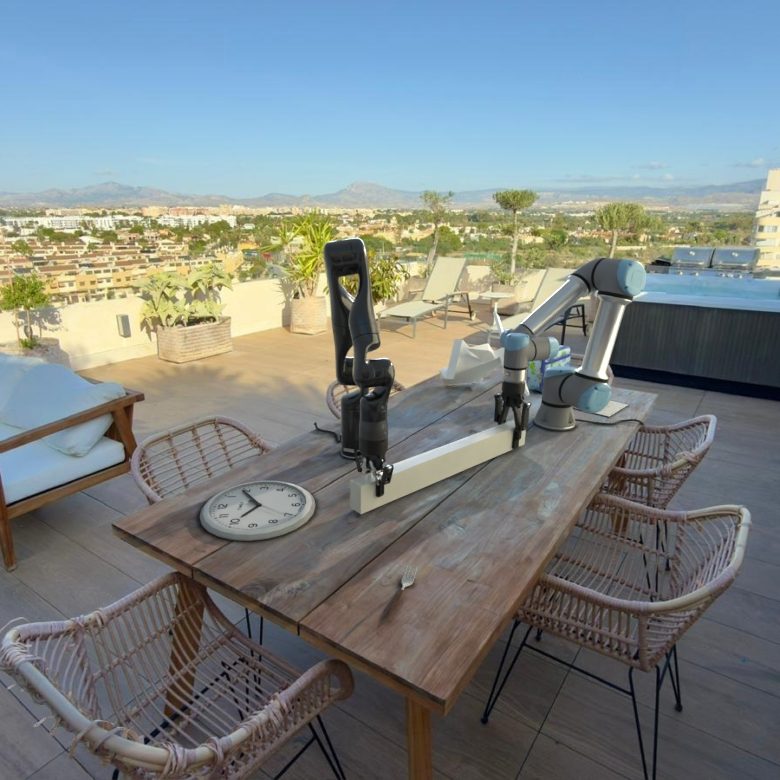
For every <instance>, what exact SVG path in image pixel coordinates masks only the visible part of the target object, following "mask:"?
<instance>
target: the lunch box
mask: <svg viewBox="0 0 780 780" xmlns="http://www.w3.org/2000/svg"><path fill="white" fill-rule="evenodd" d="M571 350H572V349H571V347H570V346H569V345H561V344H559V352H558V354H557V356H556V357H555V358H552V359H548V360H539V361H530V362H527V371H526V384H527V387H528V390H531V391H537V392H540V393H541V394H542V390H543V380H544V375H545V370H546V369H547V368H549V367H555V366H567V367H571V356H572V351H571Z"/></svg>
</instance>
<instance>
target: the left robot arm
mask: <svg viewBox="0 0 780 780" xmlns="http://www.w3.org/2000/svg"><path fill="white" fill-rule="evenodd" d="M322 249H323V250H322V257H323V265H324V271H325V276H326V281H327V282H326V283H327V289H328V295H329V306H330V308H329V309H330V321H331V329H332V336H333V337H332V338H333V342H334V343H333V344H334V360H335V361H334V364H335V367H334V368H335V378H336V382H337V383H338V384H339V385H341V386H345V387H358V388H357V389H356V390H354V391H351V392H348V393H345V394H343V395H342V396H341V398H340V432H339V434H338V433H337V432H335V431H333V430H327V429H322V428H319V427H318V423H317V422H316V421H315V422H314V423H313V425H314V427H315V429H316V430H317V431H319V432H321V433H327V434H331V435H335V437H336V441H337V443H340V446H341V447H340V448H341V449H340V455H341V456H342V457H343V458H345V459H349V460H355V464H356V465H355V466H356V470H357V473H360V474H361V475H360V476H362V475H365V474H368V473H371V472H372V473H373V477H375V480H376V497H381V496H383V495H384V485H386V484H389V483H390V482H391V478H392V473H393V469H394V466H393V465H392V464H393V463H392V464H389V463H388V462H387V459H386V454H387V452H388V450H389V422H388V403H389V399H390V396H391V391H392V389H393V386H394V382H395V378H396V369H395V366H394V363H393V362H392V360H391V359H389V358H388V357H379V358H378V357H377V358H370V359H369V358H368V357H367V356H368V353H372V352H374V351H377V350H378V349H379V348H380V347H381V345H382V344H381V336H380V333H379V329H378V324H377V320H376V314H375V308H374V299H373V290H372V282H371V273H370V272H371V271H370V265H369V264H370V263H369V259H368V253H367V249H366V246H365V243H364V241H363V240H362V239H361V238H359V237H352V238H345V239H339V240H332V241H327V242H326V243H325V244H324V245H323V248H322ZM356 275H357V282H358V286H357V290H356V294H355V296H353V295H352V294H350V293H349V292H348V291H347V289H346V288H345V286H344V285H343V284H342V282H341V280H340V278H343V277H344V278H345V277H349V276H356ZM352 348H353V349H352ZM351 349H352V351H353V354H352V355H353V356H347V355H348V353H349V352H350V350H351ZM371 388H374V389H373V390H372V391H371V392H370V389H371ZM380 470H381V471H380ZM377 471H380V472H378V473H377ZM379 476H381V480H380V479H379Z"/></svg>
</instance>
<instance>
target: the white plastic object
mask: <svg viewBox="0 0 780 780" xmlns="http://www.w3.org/2000/svg"><path fill="white" fill-rule="evenodd" d="M492 315H493V319H494V321H495V324H496V325H495V326H496V328H497V332H498V335H499V337H500V336H501V334H502V332H503V331H504V328H503V325H502V321H501V318H500V315H499V314H498V312H497V311H496V310H495V311H492ZM500 366H502V368H503V366H504V348H503V347H500V348H498V349H496V350H495V349H493V348H492V347H491V346H490V344H489V343H488V342H487V343H483V344H479V345H473V346H469V345H468V343H466V342H465V340H464V339H463V338H460V339H458V338H454V340H453V344H452V349H451V353H450V357H449V362H448V366H446V367H444V368H442V369H440V370H439V371H438V372H439V376H440V381H442V383H443V384H444V385H445V386H449V385H458V384H467V383H468V384H469V383H473V384H477V383H480V382H482V381H484V378H485V377H486V376H487V375H489V374H490V373H492V372H494V371H495V370H496V369H497V368H499V367H500ZM524 395H525V396H526V397H528V396H531V395H530V389H528V387H527V380H525V392H524Z"/></svg>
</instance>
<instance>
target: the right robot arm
mask: <svg viewBox="0 0 780 780" xmlns="http://www.w3.org/2000/svg"><path fill="white" fill-rule="evenodd" d="M646 283H647V271H646V269H645V266H644V265H643V264H642V263H641V262H640V261H638V260H634V259H630V258H617V257H616V258H615V257H598V258H594V259H591V260H589V261H588V262H585V263H584V264H582V265H581V266H579V267H578V268H576V269H575V270H574V271H573V272H572V273H570V274H569V276H567V277H566V282H565V283H563V284H562V285H561V286H560V287H559V288H558V289H557V290H555V292H553V293H552V294H551V295H550V296H549V297H548V298H547V299H546V300H544V301H543V302H542V303H541V304H540V305H539V306H538V307H537V308H536V309H534V311H532V312H531V313H530V314H529V315H528V316H527V317H526V318H524V320H522V321H521V322H520V323H519V324H518V325H517V326H516V327H515V328H507V329H503V332H502V334H501V336H500V335H499V343H500V345H501V348H504V366H503V367H502V382H501V393H500V392H499V393H495V394H494V395H493V397H494V412H493V413H494V414H493V422H494V423H497V426H498V425H501V424H503V423H506V422H507V418H508V415H509V412H510V409H511V411H512V412H513V420H514V421H515V429H516V430H514V431H513V442H512V449H513V450H515V449H517V448H520V447H519V440H520V439H521V435H522V431H524V430H526V431H527V430H528V428H529V415H530V409H531V406H532V402H531V401H527V400H526V399H525V393H524V392H525V381H527V370H528V362H530V361H539V360H548V359H552V358H555V357H556V356H557V354H558V352H559V345H560V343H559V341H558V340H557V338H555V336H547V335H546V336H540V335H541V334H542V333H543V332H544V331H546V329H548V328H549V327H550V326H551V325H552V324H553V323H554V322H555V321H557V319H559V318H560V317H561V316H562V315H563V314H564V313H565V312H567V311H568V309H570V308H571V307H573V305H574V304H576V303H577V301H578V300H579V299H581V298H586V297H587V296H588V295H589V294H590V293H593V292H597V294H596V295H597V298H598V299H599V304H598V306H597V311H596V314H595V316H594V317H595V318H594V320H593V325H592V328H591V330H590V334H589V338H588V342H587V345H586V348H585V351H584V355H583V359H582V362H581V364H580V367H578V368H577V367H574V366H570V367H567V366H555V367H549V368H547V369H546V370H545V375H544V380H543V390H542V393H541V402H540V405H539V407H538V410H537V411H536V413H535V417H534V424H535V425H536V426H537V427H539V428H542V429H544V430H549V431H556V432H567V431H572V430H574V429H575V428H576V422H581V423H587V424H595V425H602V426H615V425H618V424H619V423H626V422H637V423H639V424H640V425H643V426H644V425H645V424H644V422H643V421H641V420H639V419H637V418H627V419H619V420H617V421H615V422H603V421H602V422H600V421H594V420H593V421H592V420H586V419H580V418H575V417H576V416H575V413H574V409H576V408H578V409H577V410H579V411H581V412H586V413H588V414H596V413H597V412H599V411H601V410H602V409H604V408H605V407H606V406H607V404H608V403H609V401H611V399H612V393H613V392H612V388H611V386H610V385H609V380H610V377H609V375H608V374H607V370H608V367H609V363H610V360H611V356H612V353H613V349H614V348H615V345H616V344H615V343H616V340H617V337H618V333H619V330H620V327H621V323H622V319H623V316H624V314H625V310H626V307H627V306H628V305H629V304H631V303H633V300H634V297H636V296H638V295H640V294H641V292H643V291H644V289H645V286H646ZM574 407H575V408H574Z"/></svg>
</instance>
